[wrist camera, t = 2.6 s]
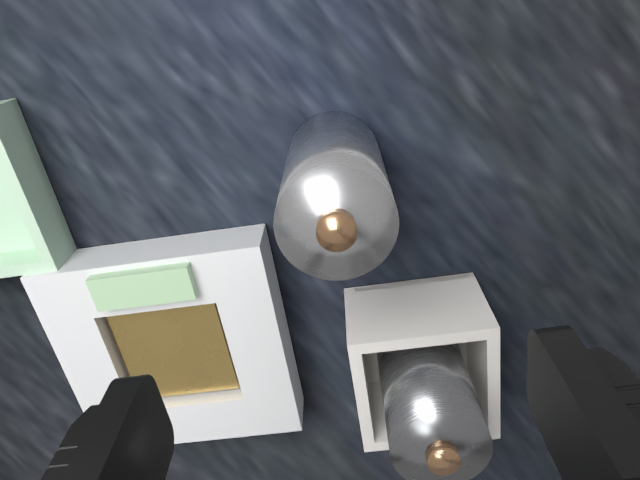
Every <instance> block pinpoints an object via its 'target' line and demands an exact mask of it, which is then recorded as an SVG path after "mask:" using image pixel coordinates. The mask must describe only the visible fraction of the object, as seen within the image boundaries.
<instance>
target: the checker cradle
mask: <svg viewBox="0 0 640 480" xmlns="http://www.w3.org/2000/svg"><path fill="white" fill-rule="evenodd" d="M20 280H21V282H22V284H23V286H24V288H25V290H26V292H27V294H28V297H29V299H30V301H31V303H32V305H33V307H34V309H35V311H36V313H37V316H38V318H39V320H40V322H41V324H42V326H43V328H44V330H45V332H46V335H47V337H48V339H49V341H50V343H51V345H52V347H53V349H54V351H55V354H56V356H57V358H58V360H59V362H60V364H61V366H62V368H63V370H64V372H65V375H66V377H67V379H68V381H69V383H70V385H71V387H72V389H73V391H74V394H75V396H76V398H77V400H78V402H79V404H80V406H81V408H82V410H83V413H84V412H85V411H86V410H87V409H88V408H89V407H90V406H91V405H99V404H100V402H101V400H102V398H103V396H104V394H105V392H106V390H107V388H108V386H109V384H110V383H111V381H112V380H114V379H115V378H122V377H131V376H130V374H129V372H128V369H127V367H126V364H125V362H124V359H123V357H122V354H121V352H120V349H119V347H118V344H117V342H116V339H115V337H114V334H113V332H112V329H111V327H110V325H109V322H108V320H107V317H108V316H116V315H124V314H132V313H140V312H148V311H156V310H164V309H172V308H180V307H188V306H196V305H204V304H212V303H216V305H217V308H218V312H219V315H220V319H221V322H222V326H223V329H224V332H225V336H226V339H227V343H228V346H229V350H230V353H231V357H232V360H233V364H234V367H235V371H236V374H237V378H238V381H239V384H240V385H239V388H235V389H226V390H217V391H208V392H199V393H190V394H181V395H172V396H163V397H162V400H163V402H164V405H165V407H166V410H167V413H168V415H169V418H170V420H171V423H172V426H173V431H174V444H178V443H188V442H197V441H207V440H216V439H226V438H236V437H245V436H255V435H264V434H274V433H284V432H293V431H302V422H303V404H304V397H303V392H302V388H301V383H300V378H299V374H298V369H297V365H296V360H295V356H294V351H293V347H292V342H291V338H290V333H289V329H288V324H287V320H286V315H285V311H284V306H283V302H282V297H281V293H280V288H279V284H278V279H277V274H276V270H275V265H274V261H273V256H272V252H271V247H270V243H269V238H268V234H267V229H266V225H265V224H257V225H250V226H243V227H235V228H228V229H221V230H213V231H206V232H199V233H191V234H184V235H177V236H169V237H162V238H155V239H147V240H140V241H133V242H126V243H118V244H111V245H104V246H96V247H89V248H82V249H77V250H76V251H75V252H74V253H73V254H72V255H71V257H70V258H69V259H68V260H67V261H66V262H65V263H64V264H63V265H62V266H61V267H60V269H59V270H58V271H51V272H44V273H36V274H29V275H23V276H22V277H21V278H20Z"/></svg>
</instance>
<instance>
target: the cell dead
mask: <svg viewBox="0 0 640 480" xmlns="http://www.w3.org/2000/svg"><path fill="white" fill-rule="evenodd" d="M377 361H378V368H379V376H380V384H381V391H382V399H383V406H384V414H385V422H386V429H387V437H388V444H389V452H390V459H391V463H392V465H393V467H394V469H395V470H396V471H397V472H398V473H399V475H401V476H402V477H403V478H405V479H406V480H470V479H472V478H474V477H475V476H477V475H478V474H479V473H480V472H482V471H483V470H484V469H485V467H486V466H487V465H488V463H489V462H490V460H491V458H492V454H493V441H492V438H491V435H490V432H489V429H488V426H487V424H486V421H485V418H484V415H483V412H482V410H481V407H480V404H479V401H478V398H477V396H476V393H475V390H474V387H473V384H472V382H471V379H470V376H469V373H468V370H467V368H466V365H465V362H464V359H463V356H462V353H461V351H460V348H459V345H458V343H456V344H447V345H439V346H430V347H421V348H412V349H404V350H395V351H386V352H378V353H377Z"/></svg>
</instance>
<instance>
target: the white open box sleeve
mask: <svg viewBox="0 0 640 480" xmlns="http://www.w3.org/2000/svg"><path fill="white" fill-rule="evenodd" d="M344 299H345V317H346V335H347V348H348V354H349V361H350V367H351V373H352V379H353V385H354V391H355V397H356V403H357V410H358V416H359V422H360V428H361V434H362V440H363V446H364V452H371V451H381V450H389V444H388V437H387V429H386V422H385V414H384V406H383V399H382V391H381V384H380V376H379V368H378V361H377V353H378V352H386V351H395V350H404V349H412V348H421V347H430V346H439V345H447V344H456V343H458V345H459V348H460V351H461V353H462V356H463V359H464V362H465V365H466V368H467V370H468V373H469V376H470V379H471V382H472V384H473V387H474V390H475V393H476V396H477V398H478V401H479V404H480V407H481V410H482V412H483V415H484V418H485V421H486V424H487V426H488V429H489V432H490V435H491V438H492V439H500V326H499V324H498V322H497V320H496V318H495V316H494V314H493V312H492V310H491V308H490V306H489V304H488V302H487V300H486V298H485V296H484V294H483V292H482V290H481V288H480V286H479V284H478V282H477V280H476V278H475V276H474V274H473V272H472V273H464V274H456V275H448V276H440V277H432V278H424V279H416V280H408V281H400V282H392V283H384V284H376V285H368V286H360V287H352V288H344Z"/></svg>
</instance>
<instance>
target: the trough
mask: <svg viewBox="0 0 640 480" xmlns="http://www.w3.org/2000/svg"><path fill="white" fill-rule="evenodd" d="M76 250H77V247H76V245H75V242H74V240H73V237H72V235H71V232H70V230H69V227H68V225H67V222H66V220H65V218H64V215H63V213H62V210H61V208H60V205H59V203H58V200H57V198H56V195H55V193H54V190H53V188H52V186H51V183H50V181H49V178H48V176H47V173H46V171H45V168H44V166H43V163H42V161H41V158H40V156H39V154H38V151H37V149H36V146H35V144H34V141H33V139H32V136H31V134H30V131H29V129H28V126H27V124H26V122H25V119H24V117H23V114H22V112H21V109H20V107H19V104H18V102H17V99H16V98H14V99H8V100H2V101H0V278H7V277H14V276H22V275H29V274H36V273H44V272H51V271H58V270H59V269H60V267H61V266H62V265H63V264H64V263H65V262H66V261H67V260H68V259H69V258H70V257H71V255H72V254H73V253H74V252H75V251H76Z"/></svg>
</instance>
